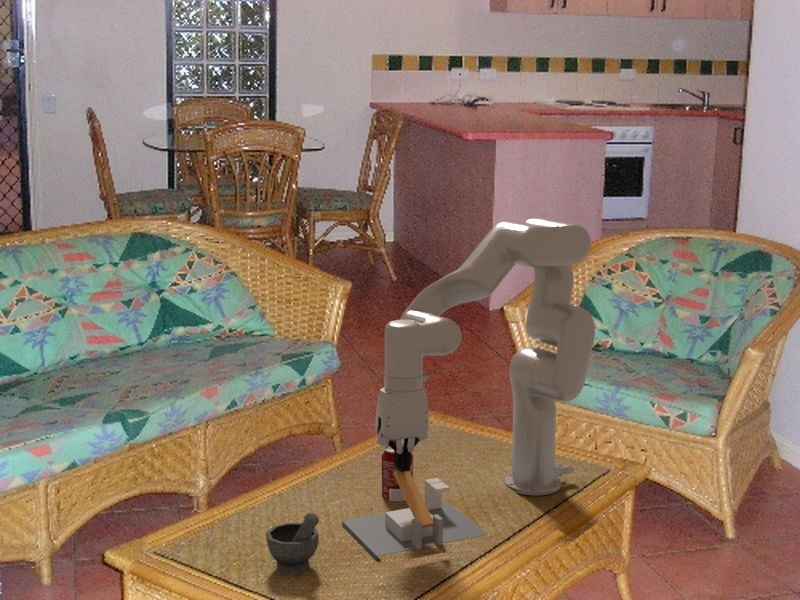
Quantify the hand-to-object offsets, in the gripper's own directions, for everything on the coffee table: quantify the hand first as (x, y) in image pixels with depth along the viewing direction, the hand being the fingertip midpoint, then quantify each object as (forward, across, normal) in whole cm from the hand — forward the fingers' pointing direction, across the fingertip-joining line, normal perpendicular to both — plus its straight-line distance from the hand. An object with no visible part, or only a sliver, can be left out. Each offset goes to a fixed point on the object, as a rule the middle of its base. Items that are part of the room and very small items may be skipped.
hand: (402, 469), depth 233 cm
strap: (+5, 0, +5) cm, 7 cm away
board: (+13, -1, +3) cm, 13 cm away
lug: (+11, -9, -3) cm, 15 cm away
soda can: (+13, -5, -14) cm, 20 cm away
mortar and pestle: (+13, +26, +8) cm, 30 cm away
